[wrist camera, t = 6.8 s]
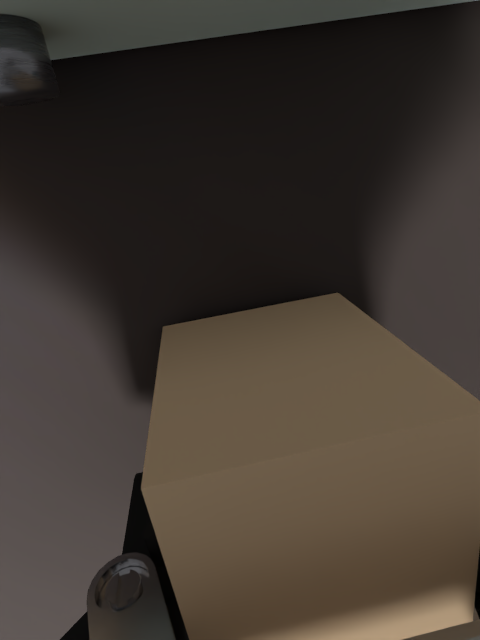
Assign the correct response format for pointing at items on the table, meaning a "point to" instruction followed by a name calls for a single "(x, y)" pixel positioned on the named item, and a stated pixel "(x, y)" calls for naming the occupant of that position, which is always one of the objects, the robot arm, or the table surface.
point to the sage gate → (144, 29)
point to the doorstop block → (311, 478)
